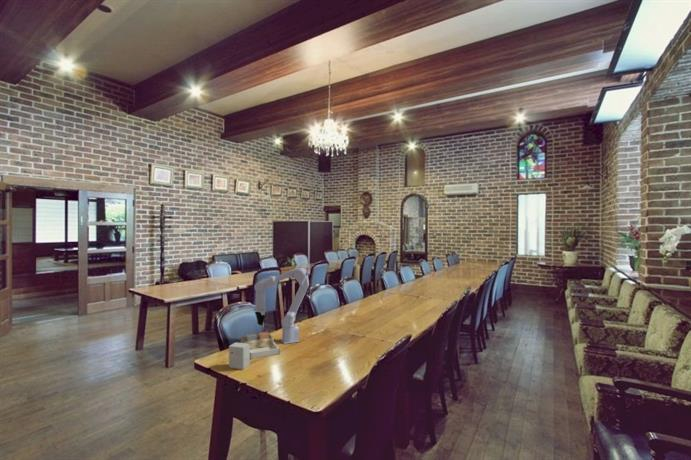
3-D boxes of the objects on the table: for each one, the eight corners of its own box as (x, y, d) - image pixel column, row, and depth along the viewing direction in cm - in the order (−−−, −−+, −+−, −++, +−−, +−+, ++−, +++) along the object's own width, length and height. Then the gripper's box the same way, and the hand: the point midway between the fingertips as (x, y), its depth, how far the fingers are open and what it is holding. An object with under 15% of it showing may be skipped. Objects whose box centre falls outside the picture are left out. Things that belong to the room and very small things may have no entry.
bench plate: (268, 340, 197) (268, 333, 197) (274, 346, 187) (274, 339, 187) (240, 344, 190) (240, 337, 190) (244, 351, 179) (244, 343, 179)
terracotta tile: (266, 335, 193) (266, 331, 193) (268, 338, 189) (268, 333, 189) (258, 336, 191) (258, 332, 191) (260, 339, 187) (260, 335, 187)
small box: (249, 365, 161) (250, 343, 161) (243, 369, 156) (243, 347, 156) (235, 363, 164) (235, 341, 164) (228, 367, 158) (228, 345, 158)
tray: (273, 346, 186) (273, 341, 186) (279, 354, 176) (279, 348, 176) (245, 351, 179) (245, 345, 179) (249, 359, 168) (249, 353, 168)
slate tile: (254, 337, 190) (254, 332, 190) (256, 339, 186) (256, 335, 186) (245, 338, 188) (245, 334, 188) (247, 341, 183) (247, 336, 183)
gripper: (251, 299, 202) (251, 322, 202) (256, 304, 189) (256, 328, 189) (262, 298, 205) (262, 320, 205) (268, 303, 192) (268, 327, 192)
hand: (260, 324), depth 197 cm, fingers closed
